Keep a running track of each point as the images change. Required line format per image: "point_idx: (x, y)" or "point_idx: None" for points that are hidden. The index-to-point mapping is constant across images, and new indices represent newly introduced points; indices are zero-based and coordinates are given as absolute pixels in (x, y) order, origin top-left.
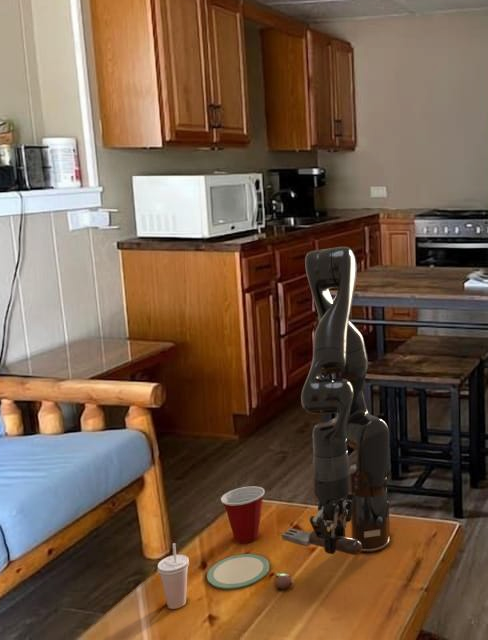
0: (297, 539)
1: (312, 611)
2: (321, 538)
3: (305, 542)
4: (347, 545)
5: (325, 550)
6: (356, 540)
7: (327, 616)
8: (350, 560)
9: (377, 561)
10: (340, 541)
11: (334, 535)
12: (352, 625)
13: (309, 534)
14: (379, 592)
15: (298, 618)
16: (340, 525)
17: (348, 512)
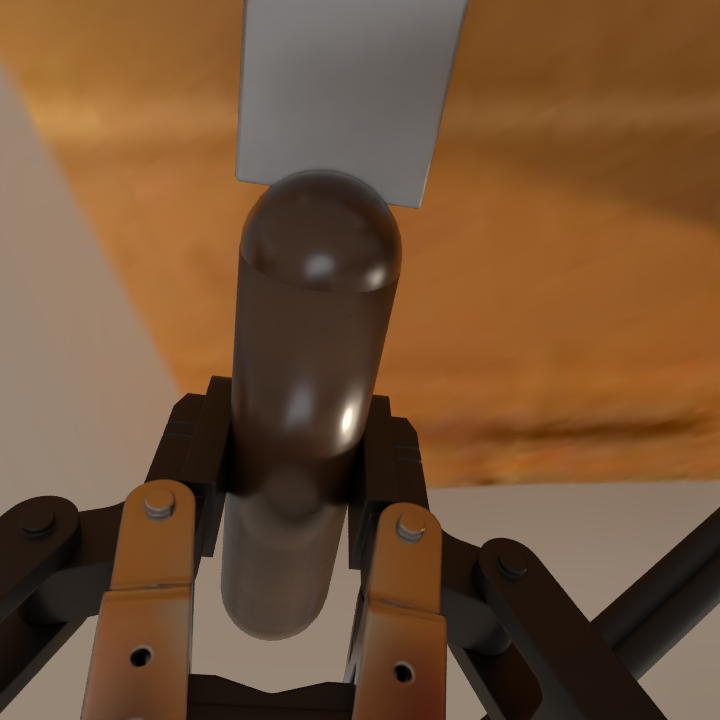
0: (244, 14)
1: (210, 131)
2: (245, 378)
3: (238, 151)
4: (227, 582)
5: (178, 406)
6: (279, 637)
7: (205, 225)
8: (715, 122)
9: (691, 269)
10: (240, 547)
11: (291, 498)
12: (195, 347)
13: (290, 204)
14: (436, 363)
15: (127, 83)
16: (366, 584)
17: (492, 713)
